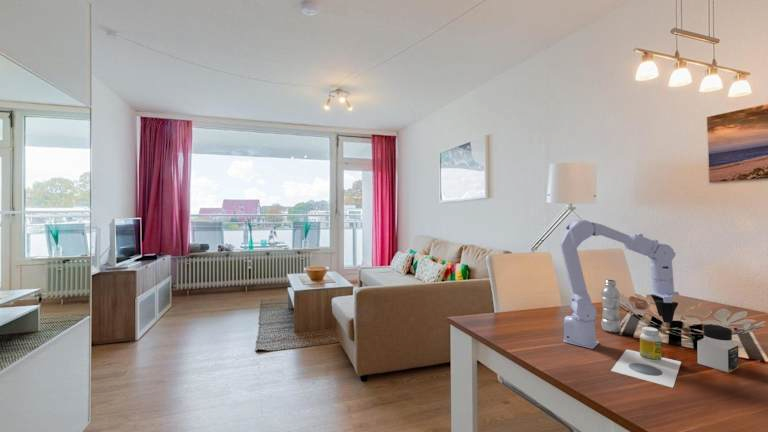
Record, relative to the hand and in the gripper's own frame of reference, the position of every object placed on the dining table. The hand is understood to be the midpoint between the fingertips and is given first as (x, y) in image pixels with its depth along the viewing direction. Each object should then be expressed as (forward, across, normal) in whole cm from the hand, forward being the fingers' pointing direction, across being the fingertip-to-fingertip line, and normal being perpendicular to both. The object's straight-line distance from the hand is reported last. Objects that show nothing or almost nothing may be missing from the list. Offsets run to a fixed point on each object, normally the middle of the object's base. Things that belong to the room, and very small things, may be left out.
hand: (665, 319), depth 113 cm
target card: (+10, -18, +8) cm, 22 cm away
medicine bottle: (+11, -7, -10) cm, 17 cm away
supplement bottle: (+10, -11, +6) cm, 16 cm away
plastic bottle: (+10, +13, +15) cm, 22 cm away
